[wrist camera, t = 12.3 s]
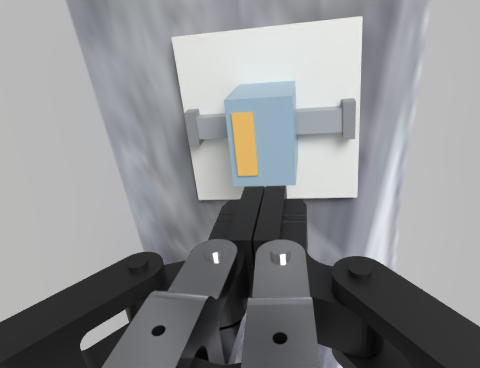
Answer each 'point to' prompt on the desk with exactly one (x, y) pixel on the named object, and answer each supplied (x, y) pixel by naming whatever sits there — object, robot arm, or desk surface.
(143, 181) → the desk surface
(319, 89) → the rail plate
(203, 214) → the desk surface
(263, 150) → the block
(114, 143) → the desk surface
